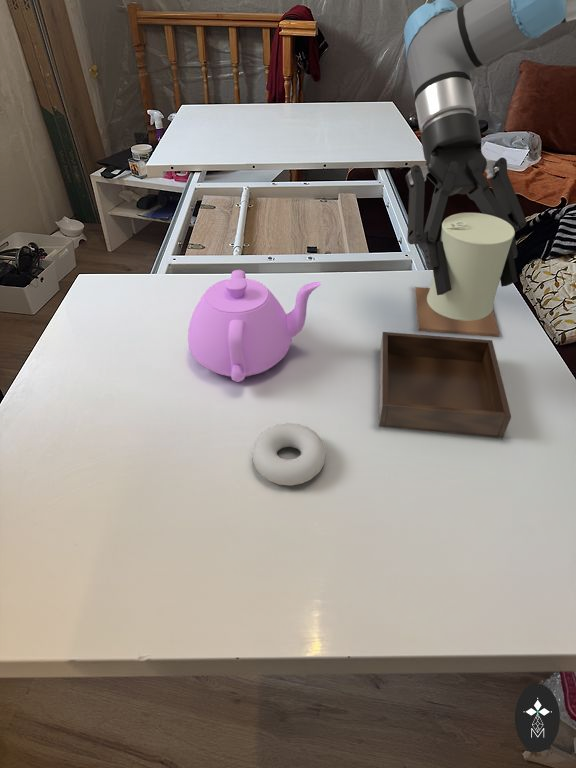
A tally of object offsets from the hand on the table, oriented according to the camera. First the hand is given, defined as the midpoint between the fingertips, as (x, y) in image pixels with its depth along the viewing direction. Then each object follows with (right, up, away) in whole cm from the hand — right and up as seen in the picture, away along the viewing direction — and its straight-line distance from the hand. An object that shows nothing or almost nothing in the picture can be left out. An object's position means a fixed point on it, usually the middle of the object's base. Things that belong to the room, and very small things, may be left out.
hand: (477, 288), depth 71 cm
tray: (-2, -14, +12) cm, 19 cm away
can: (-1, -1, +5) cm, 6 cm away
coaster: (+6, +1, +29) cm, 29 cm away
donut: (-25, -24, +2) cm, 35 cm away
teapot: (-31, -8, +20) cm, 38 cm away
